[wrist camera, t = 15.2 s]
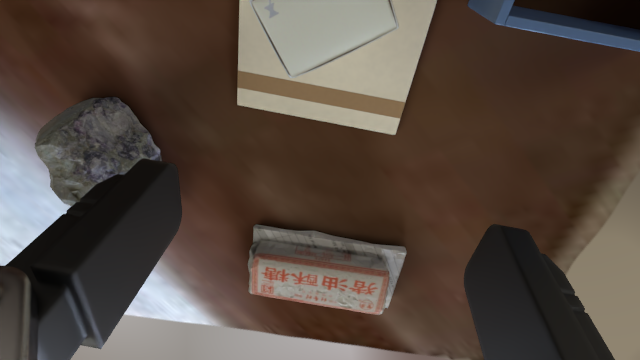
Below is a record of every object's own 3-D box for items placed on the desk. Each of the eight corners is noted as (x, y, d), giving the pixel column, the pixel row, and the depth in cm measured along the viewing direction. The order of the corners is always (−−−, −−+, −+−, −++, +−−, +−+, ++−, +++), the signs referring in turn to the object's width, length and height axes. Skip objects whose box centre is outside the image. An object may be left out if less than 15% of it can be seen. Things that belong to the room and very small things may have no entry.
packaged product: (244, 307, 43) (243, 250, 38) (254, 276, 47) (255, 220, 42) (390, 331, 43) (411, 277, 37) (388, 298, 47) (407, 244, 41)
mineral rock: (181, 208, 42) (136, 274, 34) (91, 187, 41) (23, 248, 33) (180, 109, 34) (122, 163, 26) (71, 82, 34) (-24, 128, 26)
